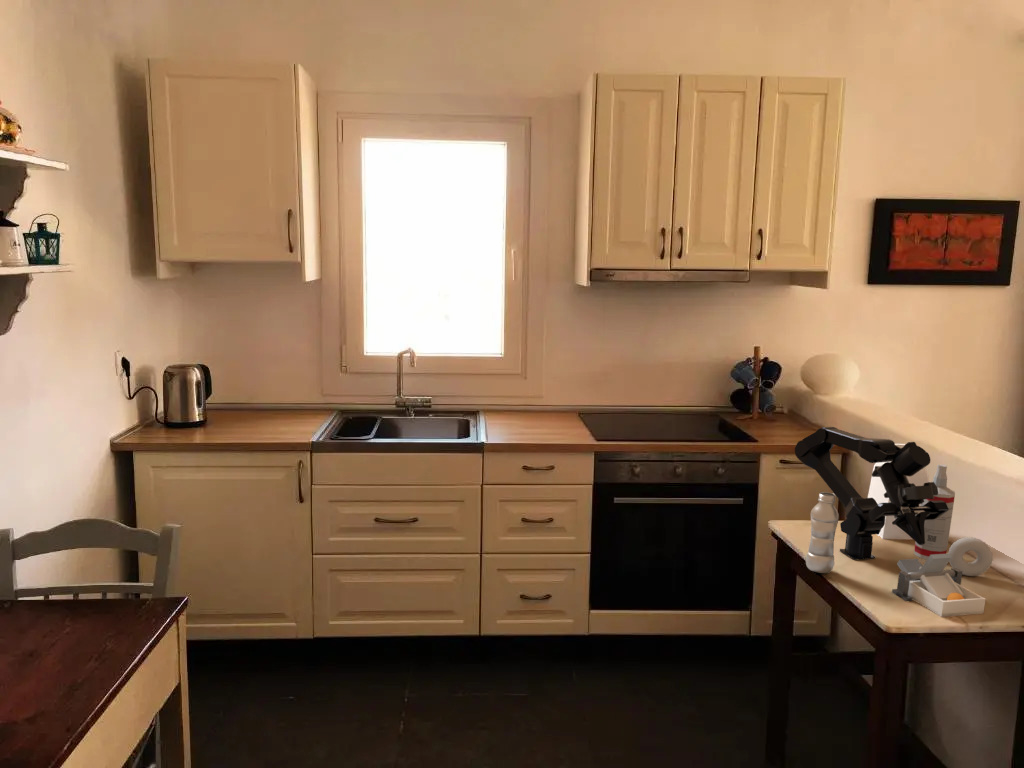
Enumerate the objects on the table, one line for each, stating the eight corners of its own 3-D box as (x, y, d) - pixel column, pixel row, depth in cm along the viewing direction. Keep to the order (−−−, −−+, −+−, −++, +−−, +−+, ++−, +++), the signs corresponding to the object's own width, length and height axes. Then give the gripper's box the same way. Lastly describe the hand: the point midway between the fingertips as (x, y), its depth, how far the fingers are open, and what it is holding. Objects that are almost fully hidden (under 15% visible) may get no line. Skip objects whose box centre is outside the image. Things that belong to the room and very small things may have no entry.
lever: (883, 564, 196) (902, 536, 189) (927, 561, 199) (947, 533, 192) (915, 612, 185) (937, 583, 179) (961, 608, 188) (983, 580, 182)
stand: (891, 592, 191) (894, 569, 190) (948, 588, 194) (951, 565, 193) (906, 601, 186) (909, 577, 185) (964, 597, 190) (967, 573, 189)
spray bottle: (933, 562, 210) (946, 470, 206) (907, 552, 216) (919, 462, 212) (952, 558, 214) (965, 467, 209) (926, 548, 220) (938, 460, 216)
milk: (901, 525, 239) (913, 439, 234) (923, 539, 227) (935, 450, 223) (862, 524, 238) (872, 438, 233) (882, 538, 226) (893, 449, 222)
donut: (987, 575, 203) (993, 538, 201) (991, 581, 200) (997, 542, 198) (943, 569, 206) (949, 532, 204) (947, 575, 202) (952, 537, 201)
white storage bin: (905, 595, 189) (907, 581, 189) (946, 592, 192) (948, 578, 191) (941, 616, 179) (943, 602, 178) (983, 613, 181) (985, 598, 181)
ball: (954, 594, 180) (955, 610, 180) (967, 593, 181) (969, 609, 180) (942, 592, 183) (944, 607, 183) (955, 591, 184) (957, 606, 184)
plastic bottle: (835, 577, 198) (844, 499, 194) (806, 574, 199) (815, 496, 196) (830, 567, 204) (839, 491, 200) (802, 564, 205) (810, 489, 202)
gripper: (882, 470, 191) (908, 532, 183) (949, 469, 196) (977, 528, 187) (857, 492, 200) (881, 551, 192) (921, 489, 205) (947, 547, 196)
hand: (922, 544), depth 192 cm, fingers closed
